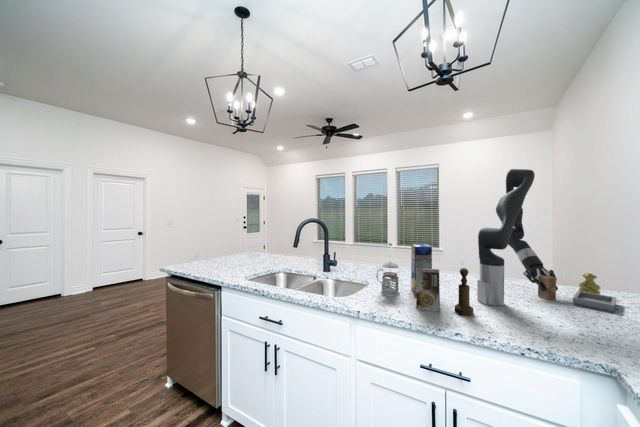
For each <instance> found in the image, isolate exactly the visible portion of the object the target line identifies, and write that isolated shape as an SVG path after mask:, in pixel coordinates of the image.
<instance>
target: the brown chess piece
mask: <svg viewBox="0 0 640 427" xmlns="http://www.w3.org/2000/svg"><path fill="white" fill-rule="evenodd" d="M459 274H460V276H461V279H460V282H461V283H459V284H458V303H457V304H456V305H454V313H456V314H457V315H460V316H466V317H468V316H469V317H472V316H474V308H473V306H471V305H470V304H471V303H470V290H471V289H470V288H471V287H470V285H469V284H467V283H468V279H467V276H468V275H469V270H468V269H467V268H465V267H461V268H460V269H459Z"/></svg>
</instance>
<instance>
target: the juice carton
mask: <svg viewBox="0 0 640 427" xmlns="http://www.w3.org/2000/svg"><path fill="white" fill-rule="evenodd" d="M410 244H411V247H410V248H411V253H410V255H411V256H410V258H411V262H410V264H411V265H410V266H411V268H410V270H411V272H410V273H411V276H410V278H411V279H410V282H411V283H410V284H411V286H410V287H411V291H412V293H413V295H414V297H415V298H416V270H417V268H426V269H433V246H432V245H430V244H428V243H410Z"/></svg>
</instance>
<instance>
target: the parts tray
mask: <svg viewBox="0 0 640 427" xmlns="http://www.w3.org/2000/svg"><path fill="white" fill-rule="evenodd" d="M616 305H617V298H616V296H611V295H603V294H600V295H599V294H593V293H587V292H581V291H579V290H577V291H576V292H575V294H574V296H573V297H572V306H577V307H582V308H587V309H593V310H597V311H603V312H608V313H613V314H615V310H616Z"/></svg>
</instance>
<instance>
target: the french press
mask: <svg viewBox="0 0 640 427" xmlns="http://www.w3.org/2000/svg"><path fill="white" fill-rule="evenodd" d="M388 246H389V247H391V246H393V244H392V242H390V243H388ZM382 267H383V268H387V269H397V268H399V265H398V264H397V263H395V262H391V261H388V262H386V263H385V262H384V263H383V264H381V268H379V269H378V270H377V271H376V276H375V277H376V280H377V282H379V283H380V284H381V290H380V294H381V295H382V296H387V297H398V296H400V295H401V292H400V291H399V276H398V273H397V272H393V271H385V272H384V269H383V268H382ZM380 271H381V272H383V273H382V274H383V275H382V278H381V279H382V281H380V280H379V278H378V277H379V272H380Z"/></svg>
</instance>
